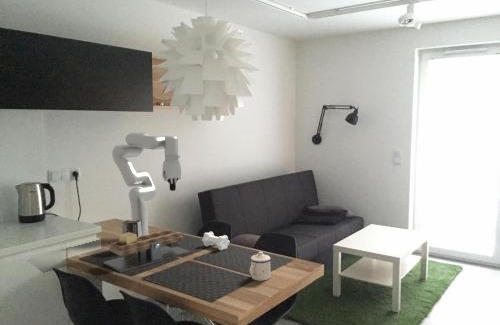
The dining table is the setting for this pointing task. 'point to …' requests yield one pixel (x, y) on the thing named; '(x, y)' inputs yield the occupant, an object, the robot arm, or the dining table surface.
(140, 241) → the long wooden tray
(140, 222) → the coffee box
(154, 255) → the stand
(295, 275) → the dining table surface
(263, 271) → the teacup with lid
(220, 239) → the dog bone
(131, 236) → the yellow wooden cube
